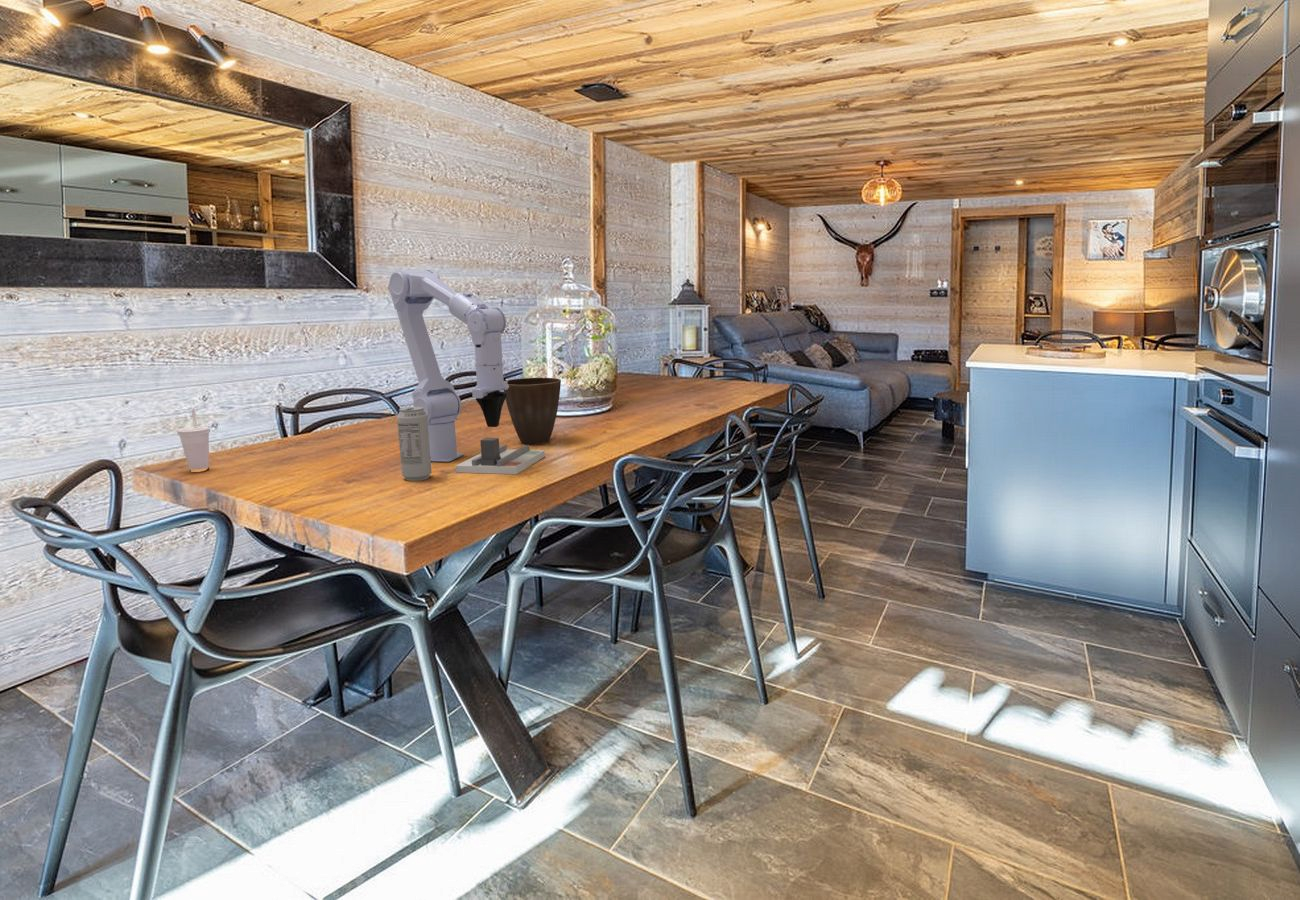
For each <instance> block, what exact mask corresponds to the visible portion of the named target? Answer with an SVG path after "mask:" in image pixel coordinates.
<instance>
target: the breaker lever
mask: <svg viewBox="0 0 1300 900" xmlns="http://www.w3.org/2000/svg"><path fill="white" fill-rule="evenodd" d="M479 441H480V453H481V457H482V459H481V465H489V466H494V465H496V464H497V461H498V460H499V459H501V456H500V449H499V446H500V438H499V437H484V438H482V439H480V440H479Z"/></svg>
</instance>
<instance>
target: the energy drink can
mask: <svg viewBox="0 0 1300 900" xmlns="http://www.w3.org/2000/svg"><path fill="white" fill-rule="evenodd" d="M423 409H424V408H423V407H414V406H406V407H401V408H399V409H398V411H399V412H398V415H397V416H396V421H397V431H398V432H397V433H398V434H397V435H398V441H399V443H398V444H399V452H400V453H399V454H400V465H401V475H402V477H404V479H405V481H408V482H418V481H419V482H420V481H425V480H427V479H430V476H431V474H432V461H431V458H430V446H429V433H428V421H427V414H426V413H425V412H424V410H423Z"/></svg>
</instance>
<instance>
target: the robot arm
mask: <svg viewBox="0 0 1300 900" xmlns="http://www.w3.org/2000/svg"><path fill="white" fill-rule="evenodd" d="M387 287H388V288H387V289H388V291H389V293H390V297H391V300H392V303H393V306H394V310H396V314H397V316H398V317H397V318H398V320H399V323H400V324H399V325H400V326H401V329H402V330H401V331H402V332H403V333H402V334H403V336H404V340H405V343H406V345H407V349H408V352H409V356H410V358H411V362H412V364H413V368H414V371H415V374H416V378H417V382H418V384H417V386H416V387H415V388H414V390H413V391H412V393H411V397H412V400H413V407H423V408H424V409H423V410H424V412H425V413H426V414H427V421H428V433H429V446H430V458H431V462H445V463H446V462H447V463H449V462H452V461H454V460H456V459H458V458H460V457H462V456H464V455H465V454H464V453H465V452H458V450H457V448H458V447H457V438H456V437H457V436H456V423H455V422H456V420H458V416H459V415H460V413H461V411H462V401H461V398H460V396H459V395H458V394H457V392H456V390H455V388H454V385H453V384H452V383H451V382H450V381H449V380H446V379H445V378H443V377H442V373H441V371H440V367H439V363H438V361H437V357H436V355H435V351H434V348H433V345H432V342H431V338H430V335H429V331H428V329H427V326H426V323H425V319H424V316H423V314H424V311H426V310H427V309H428V308H429V307H430V305H431V304H432V302H433V300H434V299H435V300H437V301H438V302H440V303H442V304H444V305H446V306H447V307H448V312H449V313H450V315H452V316H454V317H455V318H457V319H458V320H459V321H461V322H462V323H464V324H465V325H466V327H467V330H468V332H469V334H470V335H471V336H470V337H471V342H472V344H473V345H474V356H475V357H474V359H475V371H476V372H475V373H476V385H475V387H474V388H472V389H471V391H472V398H473V399H475V401H476V402H477V403H478V405H479V407H480V409H481V411H482V415H483V416H484V417H483V418H484V420H485V423H486V427H487V428H497V427H499V425H500V420H501V414H502V409H503V405H504V403H505V402H506V396H507V395H506V393H504V392H501V391H504V390H508V388H509V385H508V382H507V380H504V365H503V364H504V363H503V349H502V347H503V346H502V334H503V333H504V332H505V329H506V327H507V320H506V319H507V318H506V316H505V314H504V312H503V311H502V310H501V309H500V308H499V307H497V306H495V307H491V308H490V307H489V306H487V305H486V302H484V301H480V300H478V299H476V298H475V297H473V293H471V292H469V291H460V292H457V291H456V290H454V289H453V288H452V287H450V286H449V285H448V283H445V282H444V281H443V280H441V277H440V274H438V273H435V271H433V270H431V269H426V270H402V269H395V270H394V271H392V273H391V274H390V278H389V282H388V285H387Z"/></svg>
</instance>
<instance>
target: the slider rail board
mask: <svg viewBox="0 0 1300 900" xmlns="http://www.w3.org/2000/svg"><path fill="white" fill-rule="evenodd" d="M499 449H500V456H501V459H499V460H498V461H497V464H496V465H494V466H489V465H481V459H482V457H481V452H480V453H479V454H477V455H474V456H473V457H470V458H468V459H466V460H464V461H463V462H461V463H459V464H456V465H455V473H460V474H463V473H464V474H465V473H466V474H493V475H494V474H495V475H496V474H497V475H518V474H519V473H521V472H523V471H524V470H525V469H528V468H529V467H530V466H533V465H534V464H536V463H537V462H538V461H540V460H542V459H543V458H545V457H546V455H545V454H546V451H545V450H542V449H539V450H538V449H530V445H527V444H524V445H523V446H521V447H520V448H518V449H510V448H509V449H508V448H507V444H501V445H499Z"/></svg>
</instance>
